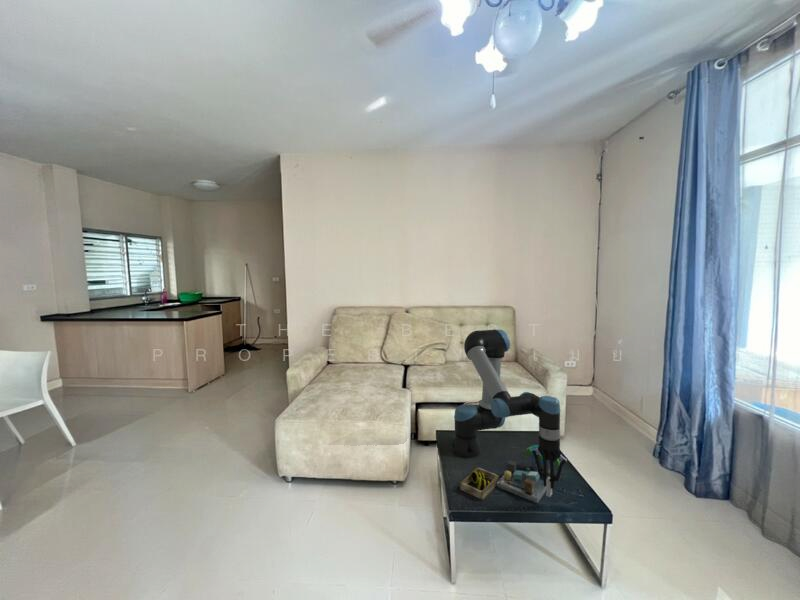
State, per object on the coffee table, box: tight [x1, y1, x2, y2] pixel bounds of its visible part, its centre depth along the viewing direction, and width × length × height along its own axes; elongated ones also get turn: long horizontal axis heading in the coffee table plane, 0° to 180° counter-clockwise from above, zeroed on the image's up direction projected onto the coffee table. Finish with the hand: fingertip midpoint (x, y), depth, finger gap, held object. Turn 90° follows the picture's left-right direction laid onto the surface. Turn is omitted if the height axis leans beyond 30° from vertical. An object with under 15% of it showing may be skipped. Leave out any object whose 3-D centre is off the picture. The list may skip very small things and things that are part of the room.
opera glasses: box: [470, 470, 490, 491], centre depth 142 cm, size 10×5×5 cm, turn 9°
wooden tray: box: [459, 467, 500, 501], centre depth 142 cm, size 11×16×3 cm
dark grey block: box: [507, 460, 518, 474], centre depth 148 cm, size 3×3×4 cm
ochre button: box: [503, 470, 511, 480], centre depth 144 cm, size 3×3×2 cm
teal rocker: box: [513, 469, 541, 482], centre depth 141 cm, size 10×4×2 cm, turn 49°
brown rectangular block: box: [524, 478, 534, 494], centre depth 134 cm, size 3×3×4 cm
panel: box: [496, 467, 546, 504], centre depth 141 cm, size 17×14×7 cm
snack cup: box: [523, 444, 561, 475], centre depth 152 cm, size 16×10×10 cm
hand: (549, 494), depth 129 cm, fingers closed
